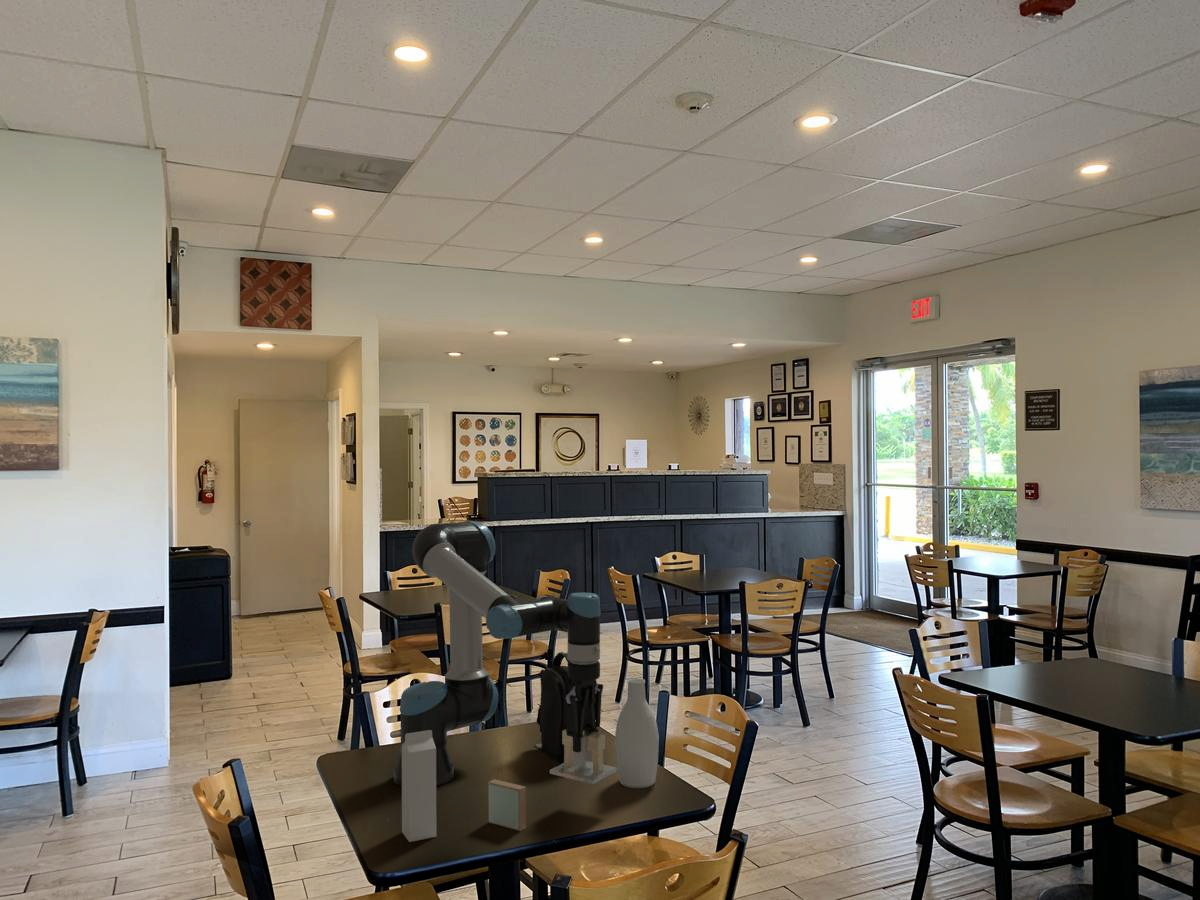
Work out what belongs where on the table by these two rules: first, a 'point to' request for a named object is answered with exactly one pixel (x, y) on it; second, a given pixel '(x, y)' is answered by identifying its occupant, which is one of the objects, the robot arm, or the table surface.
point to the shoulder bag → (553, 708)
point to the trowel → (591, 769)
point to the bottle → (636, 739)
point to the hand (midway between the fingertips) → (583, 762)
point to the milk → (419, 786)
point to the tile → (507, 804)
